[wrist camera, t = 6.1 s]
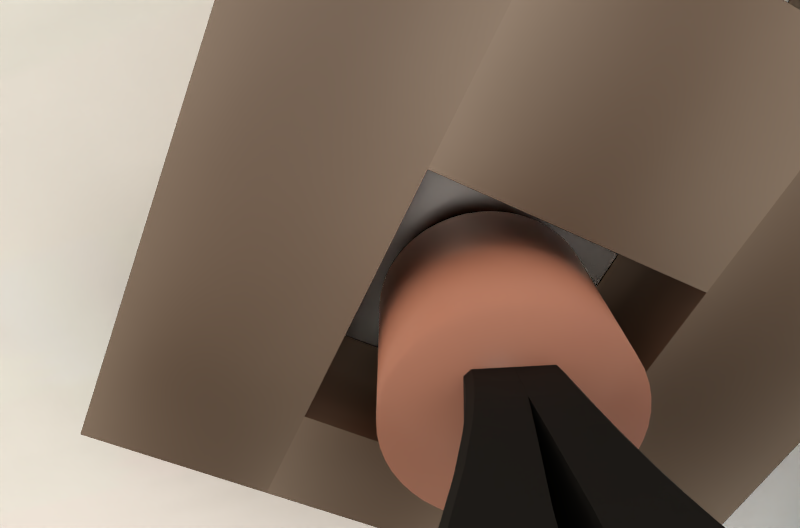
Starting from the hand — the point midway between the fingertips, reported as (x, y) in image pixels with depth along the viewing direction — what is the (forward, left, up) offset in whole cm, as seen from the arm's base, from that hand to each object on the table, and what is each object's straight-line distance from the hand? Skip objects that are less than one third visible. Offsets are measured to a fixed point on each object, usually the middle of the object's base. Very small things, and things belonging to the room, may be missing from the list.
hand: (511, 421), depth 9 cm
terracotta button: (0, 0, -3) cm, 3 cm away
